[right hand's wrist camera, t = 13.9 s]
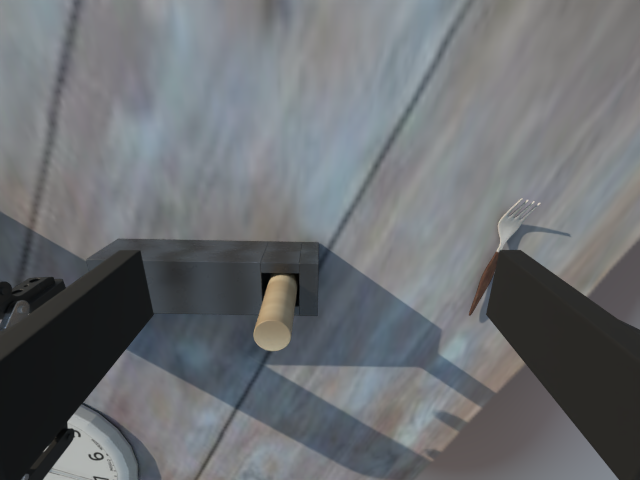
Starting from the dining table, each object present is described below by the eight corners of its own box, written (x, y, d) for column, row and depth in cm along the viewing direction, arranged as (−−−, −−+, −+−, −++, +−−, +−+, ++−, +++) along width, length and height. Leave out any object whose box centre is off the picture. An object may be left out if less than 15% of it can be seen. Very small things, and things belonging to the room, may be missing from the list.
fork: (458, 311, 44) (464, 320, 42) (510, 193, 39) (520, 198, 37) (477, 315, 44) (484, 324, 42) (532, 198, 39) (542, 203, 37)
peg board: (318, 242, 41) (318, 263, 35) (317, 289, 43) (317, 316, 38) (117, 238, 41) (85, 259, 35) (127, 285, 43) (98, 312, 37)
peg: (300, 276, 43) (291, 351, 29) (274, 276, 43) (254, 351, 29) (299, 253, 41) (290, 320, 28) (273, 253, 41) (252, 320, 28)
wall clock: (161, 518, 57) (-2, 540, 59) (166, 507, 58) (6, 529, 60) (80, 380, 46) (-116, 413, 48) (88, 371, 48) (-103, 404, 50)
